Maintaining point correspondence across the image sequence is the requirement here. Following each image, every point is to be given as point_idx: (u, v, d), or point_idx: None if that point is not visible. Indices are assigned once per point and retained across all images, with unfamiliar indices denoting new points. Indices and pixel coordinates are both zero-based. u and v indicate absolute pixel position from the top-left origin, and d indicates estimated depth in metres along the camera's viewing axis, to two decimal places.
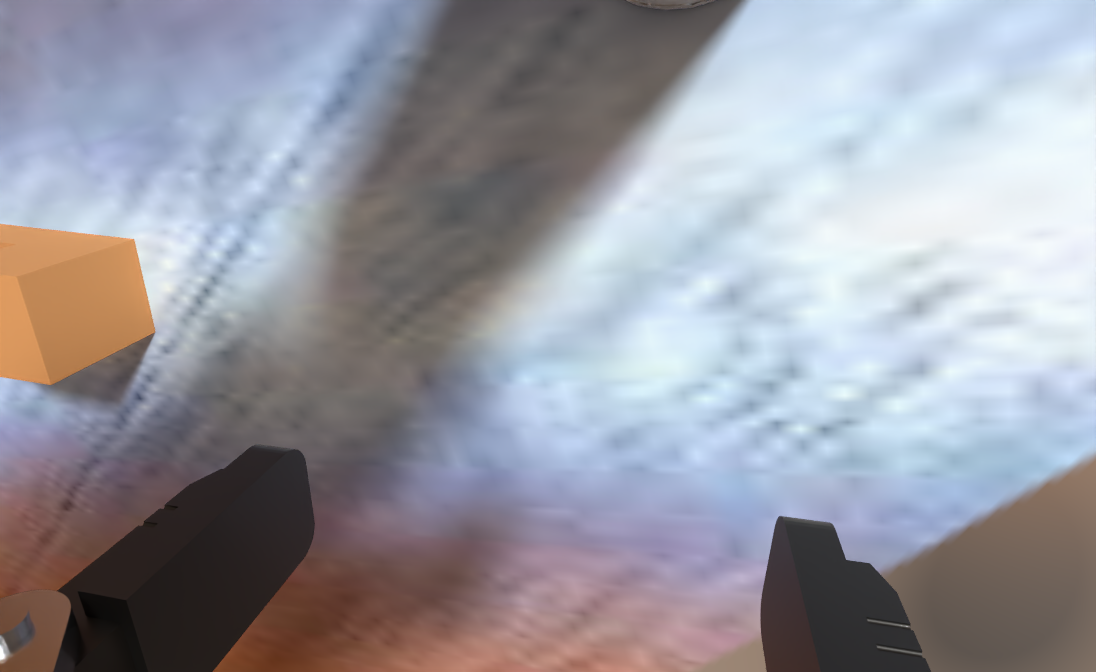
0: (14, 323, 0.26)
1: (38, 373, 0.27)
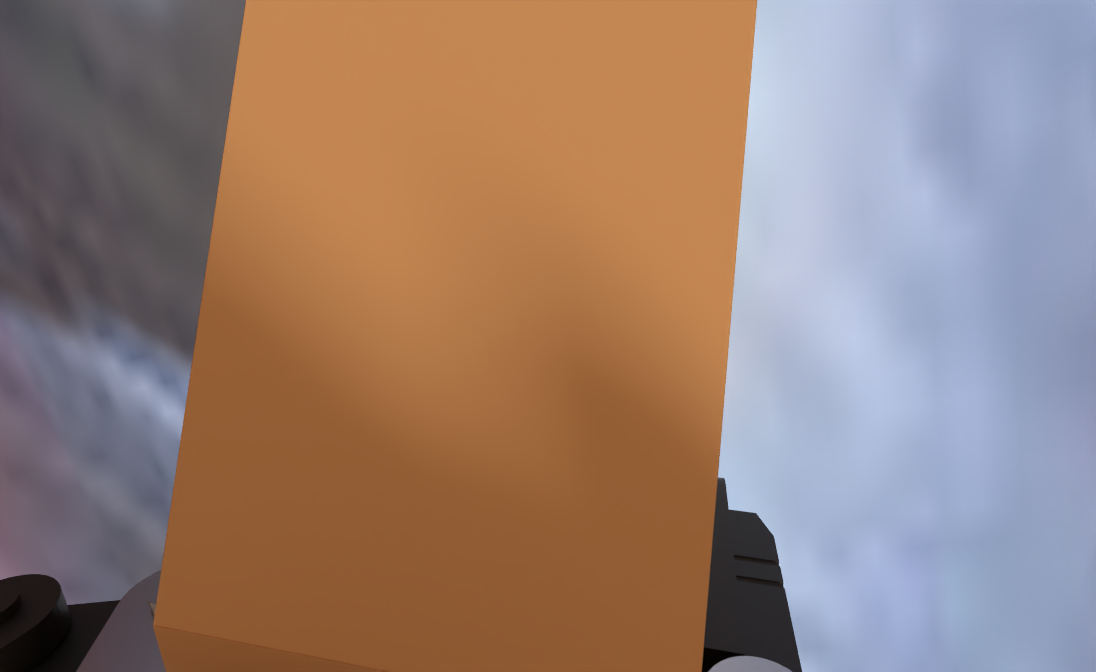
0: None
1: None
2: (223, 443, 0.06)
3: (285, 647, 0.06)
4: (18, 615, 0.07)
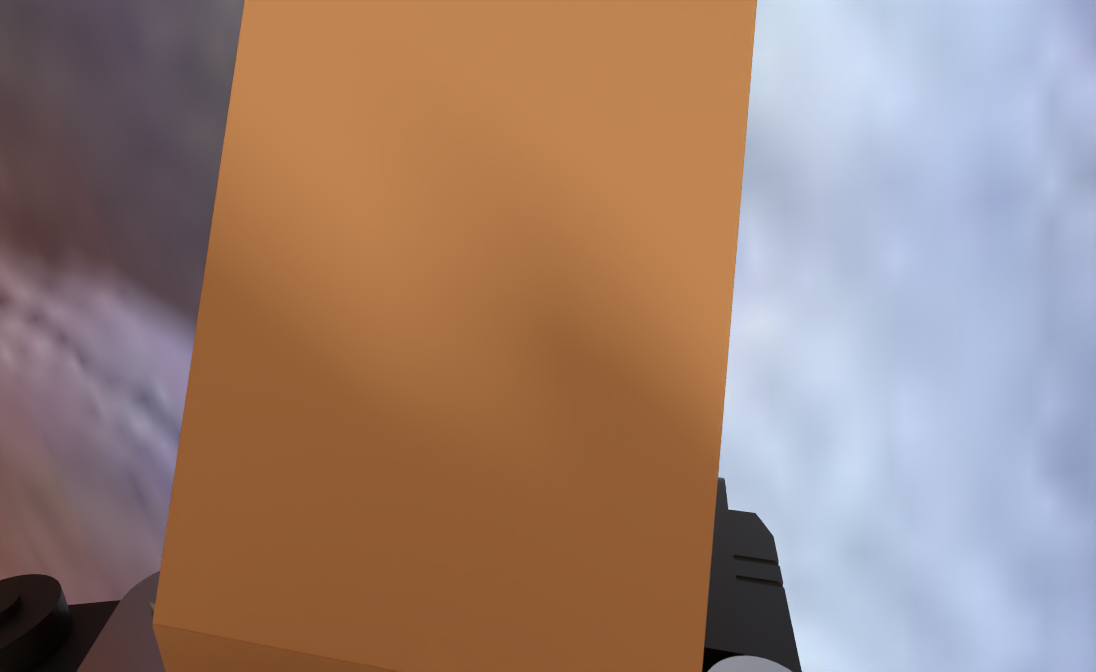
0: None
1: None
2: (222, 441, 0.06)
3: (285, 645, 0.06)
4: (18, 615, 0.07)
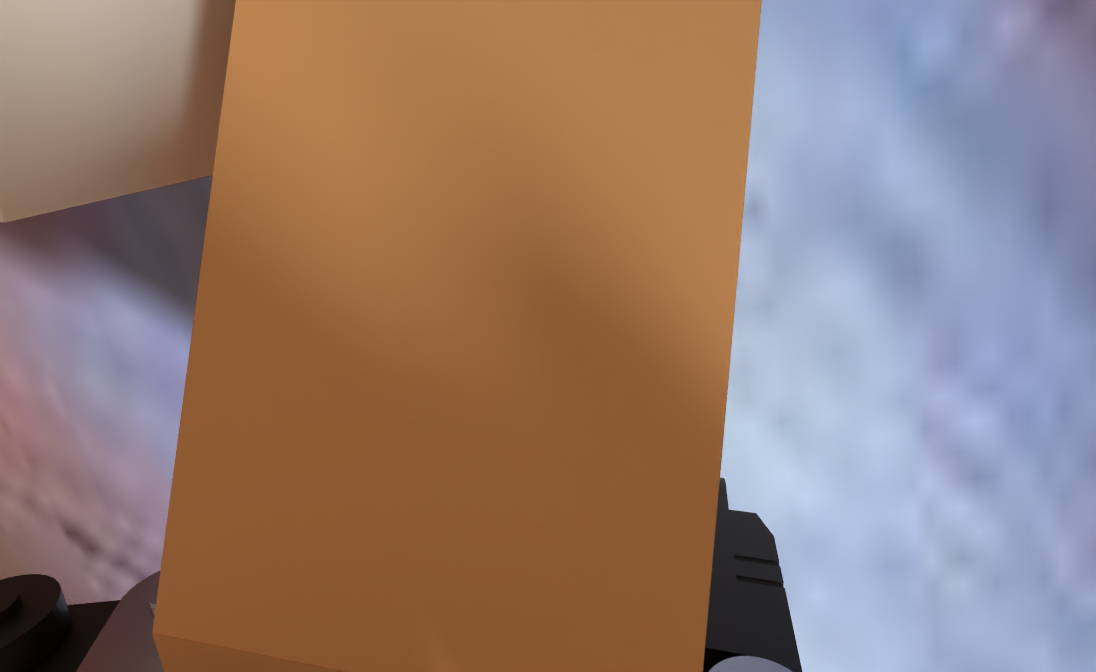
0: None
1: None
2: (220, 451, 0.06)
3: (285, 655, 0.06)
4: (18, 615, 0.07)
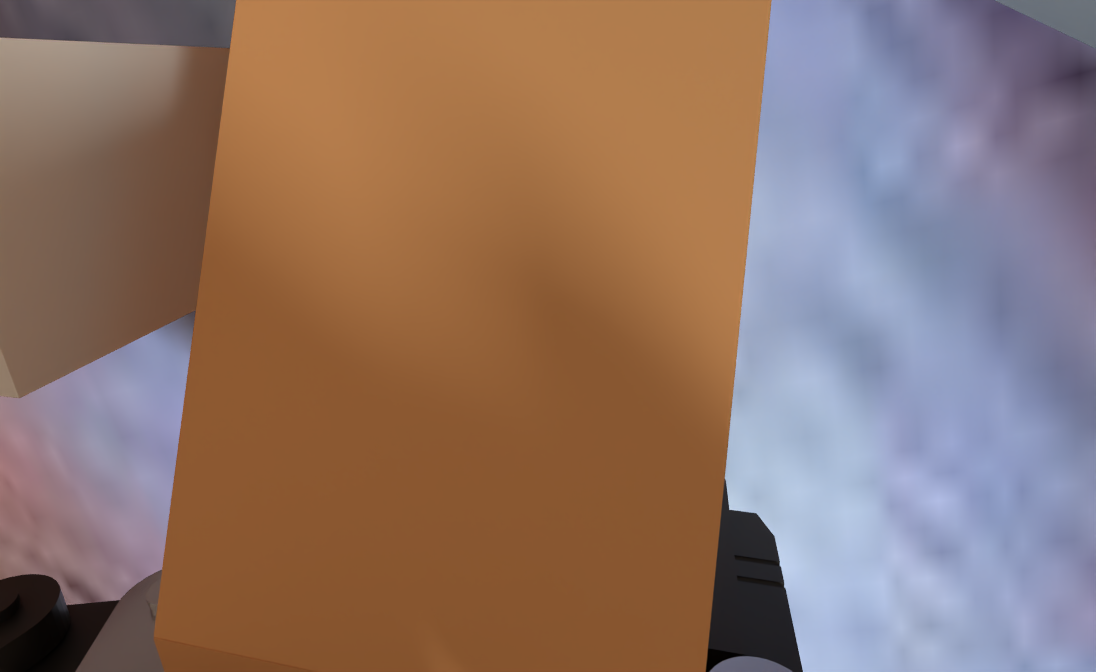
0: None
1: None
2: (220, 456, 0.06)
3: (286, 660, 0.06)
4: (17, 615, 0.07)
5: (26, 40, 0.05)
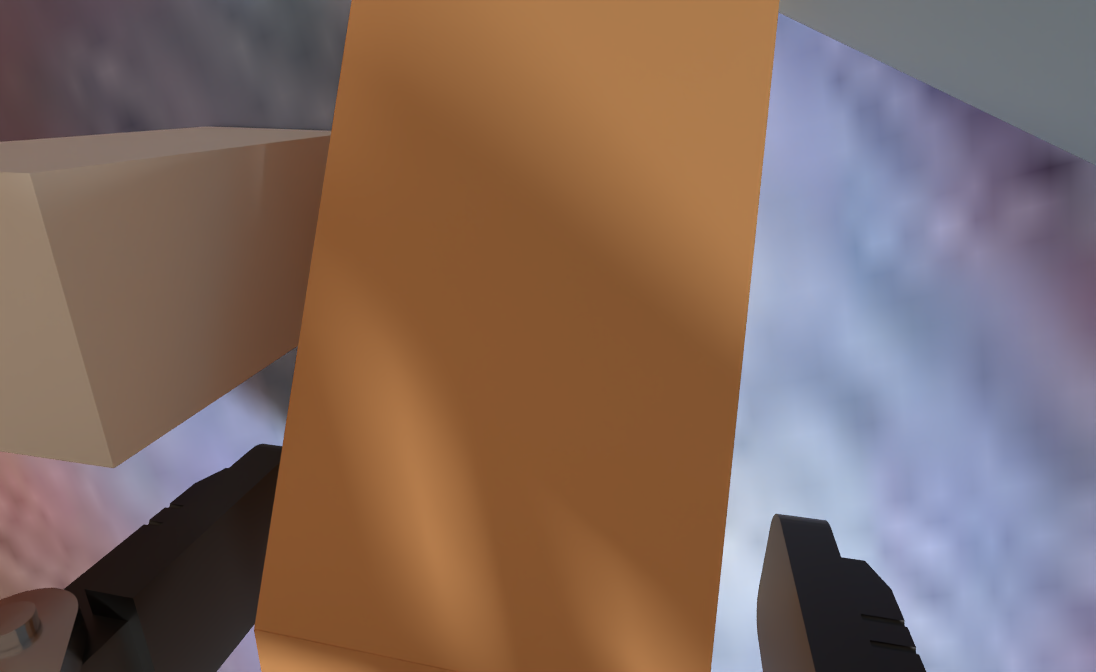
0: None
1: None
2: (315, 479, 0.07)
3: (366, 649, 0.07)
4: None
5: (132, 162, 0.06)
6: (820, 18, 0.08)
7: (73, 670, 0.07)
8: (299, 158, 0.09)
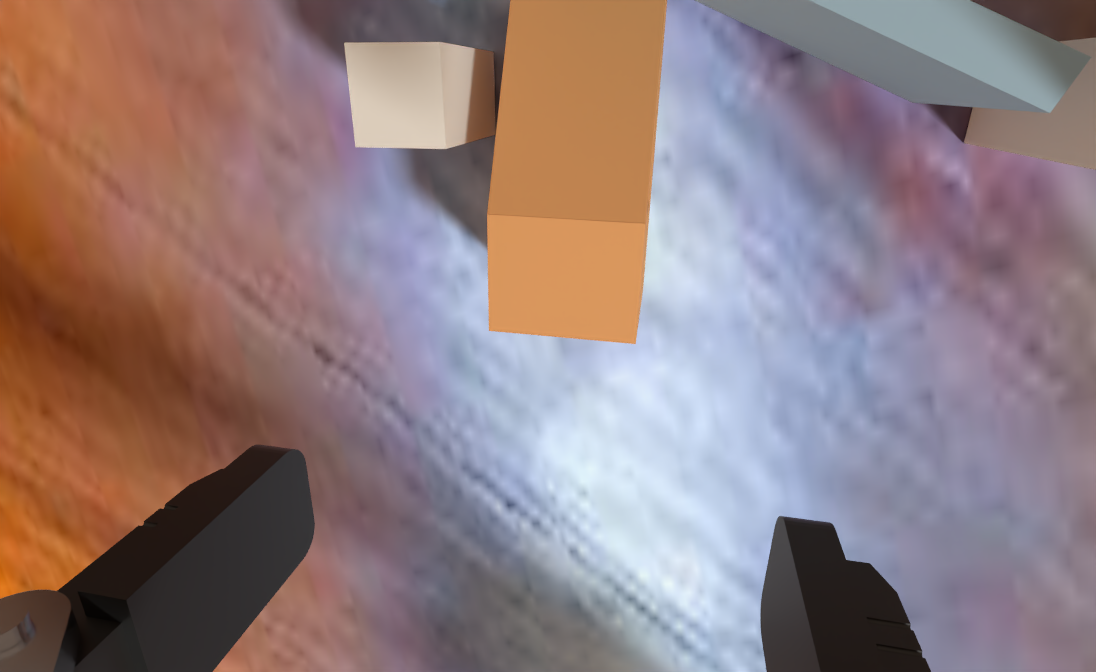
0: (570, 313, 0.20)
1: (501, 317, 0.21)
2: (507, 161, 0.20)
3: (528, 216, 0.20)
4: None
5: (452, 44, 0.19)
6: None
7: None
8: (479, 57, 0.22)
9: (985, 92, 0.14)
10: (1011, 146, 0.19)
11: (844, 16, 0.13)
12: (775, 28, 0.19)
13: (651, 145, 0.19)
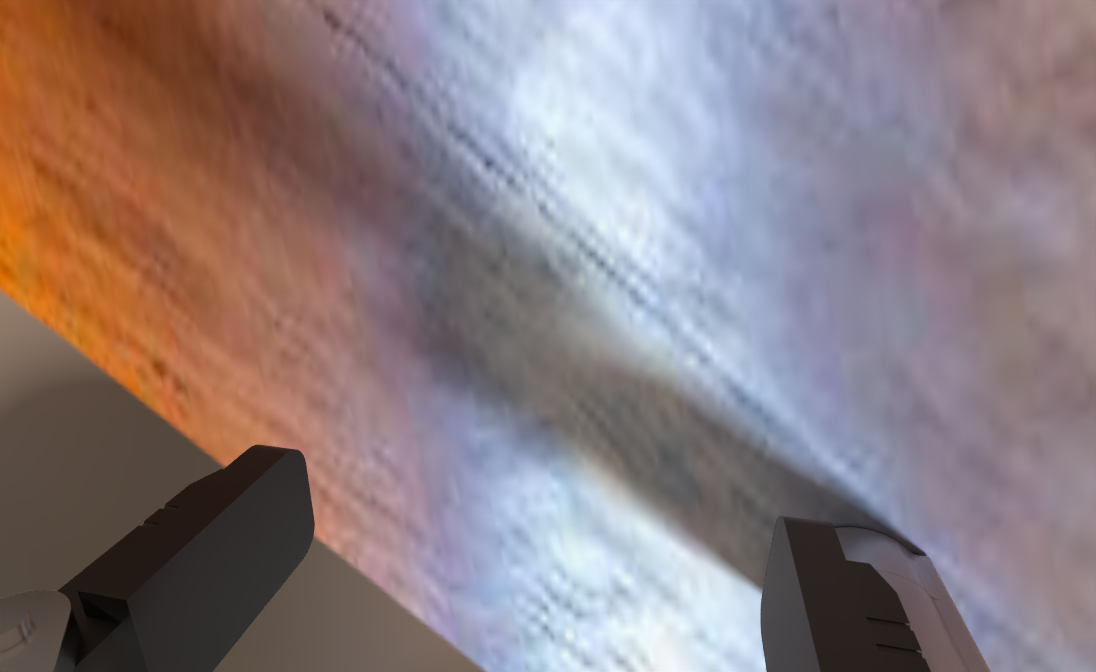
0: None
1: None
2: None
3: None
4: None
5: None
6: None
7: None
8: None
9: None
10: None
11: None
12: None
13: None
